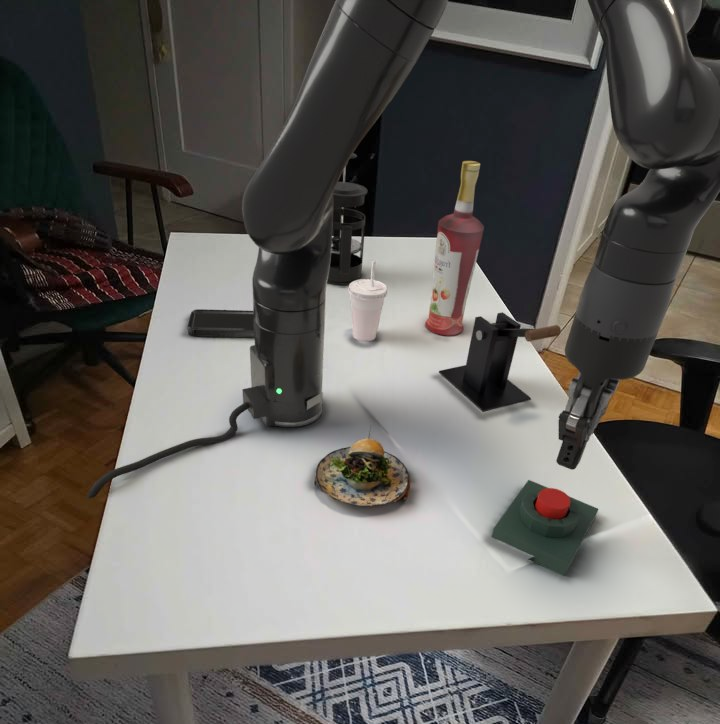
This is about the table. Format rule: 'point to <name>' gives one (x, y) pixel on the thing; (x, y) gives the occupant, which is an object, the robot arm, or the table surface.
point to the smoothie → (366, 306)
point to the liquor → (455, 258)
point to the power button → (552, 503)
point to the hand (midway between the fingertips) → (567, 463)
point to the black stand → (488, 367)
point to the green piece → (544, 529)
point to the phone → (221, 323)
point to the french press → (346, 233)
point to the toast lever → (526, 332)
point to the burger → (363, 475)
